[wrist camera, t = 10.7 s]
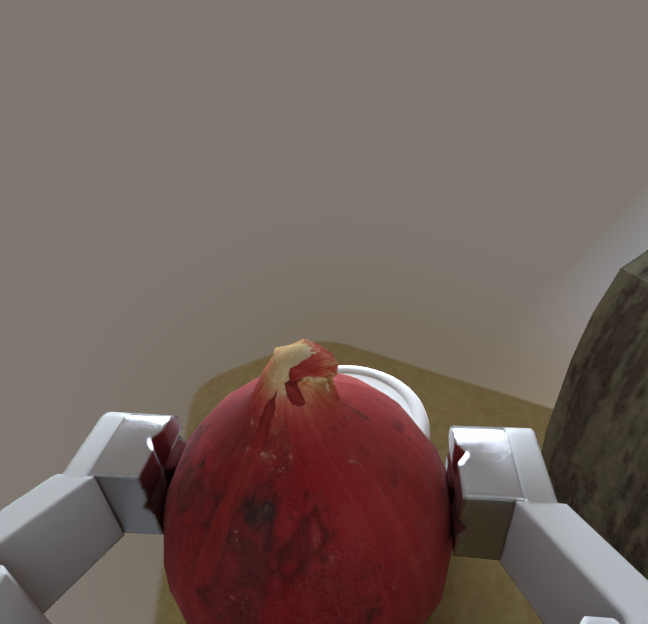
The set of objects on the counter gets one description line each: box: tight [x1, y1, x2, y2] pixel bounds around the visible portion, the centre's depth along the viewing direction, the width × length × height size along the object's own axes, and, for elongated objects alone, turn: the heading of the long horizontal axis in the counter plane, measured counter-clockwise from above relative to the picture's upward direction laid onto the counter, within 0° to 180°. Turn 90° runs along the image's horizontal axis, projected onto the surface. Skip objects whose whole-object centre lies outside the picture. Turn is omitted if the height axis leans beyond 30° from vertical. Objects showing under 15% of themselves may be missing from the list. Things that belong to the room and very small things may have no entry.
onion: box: [164, 338, 453, 624], centre depth 10 cm, size 6×6×8 cm
